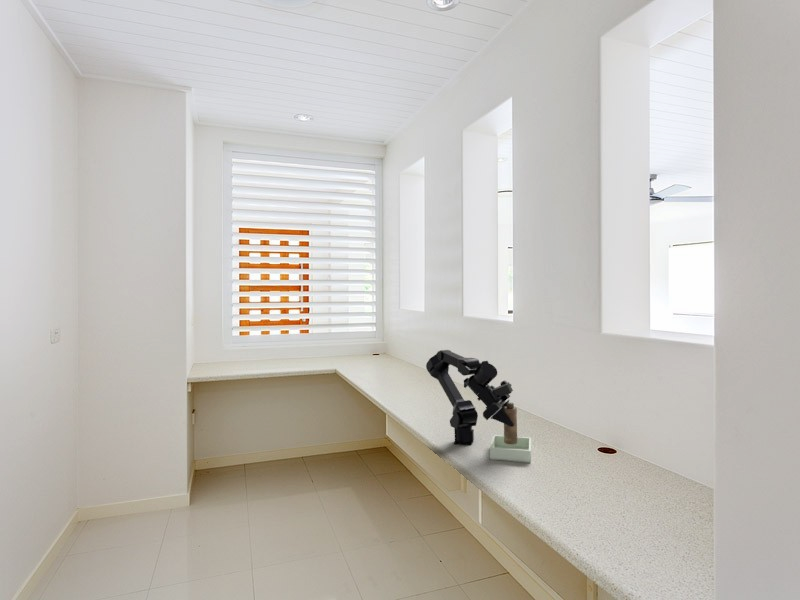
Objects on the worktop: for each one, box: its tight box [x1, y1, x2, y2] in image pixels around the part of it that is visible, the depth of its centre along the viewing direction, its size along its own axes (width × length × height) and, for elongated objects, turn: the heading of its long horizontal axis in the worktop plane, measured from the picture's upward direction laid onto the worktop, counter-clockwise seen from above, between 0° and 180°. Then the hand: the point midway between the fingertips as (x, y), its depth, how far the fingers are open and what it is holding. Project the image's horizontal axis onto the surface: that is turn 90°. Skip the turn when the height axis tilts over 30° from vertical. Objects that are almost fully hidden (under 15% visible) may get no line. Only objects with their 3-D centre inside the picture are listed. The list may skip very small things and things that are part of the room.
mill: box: [503, 402, 518, 444], centre depth 158 cm, size 4×4×14 cm
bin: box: [489, 434, 532, 464], centre depth 158 cm, size 13×13×4 cm
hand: (514, 423), depth 157 cm, fingers closed on mill, 4 cm apart
